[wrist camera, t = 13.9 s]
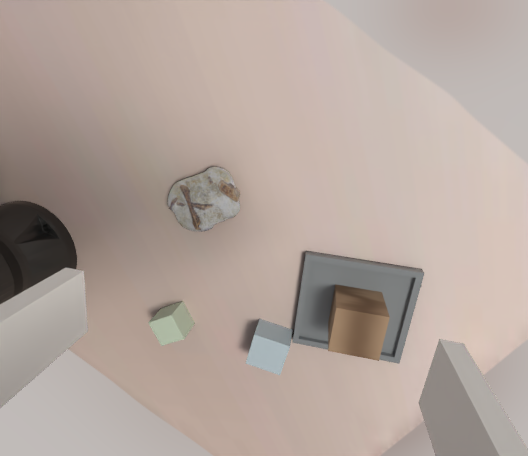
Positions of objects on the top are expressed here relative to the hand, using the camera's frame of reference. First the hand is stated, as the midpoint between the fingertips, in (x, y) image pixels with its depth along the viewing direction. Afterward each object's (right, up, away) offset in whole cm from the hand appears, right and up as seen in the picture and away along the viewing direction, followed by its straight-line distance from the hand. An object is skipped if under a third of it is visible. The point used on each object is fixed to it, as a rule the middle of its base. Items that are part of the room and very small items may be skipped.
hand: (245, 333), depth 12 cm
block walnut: (+13, -7, +33) cm, 36 cm away
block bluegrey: (+2, -12, +37) cm, 39 cm away
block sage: (-12, -9, +39) cm, 42 cm away
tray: (+13, -7, +33) cm, 36 cm away
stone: (-3, +6, +33) cm, 33 cm away
